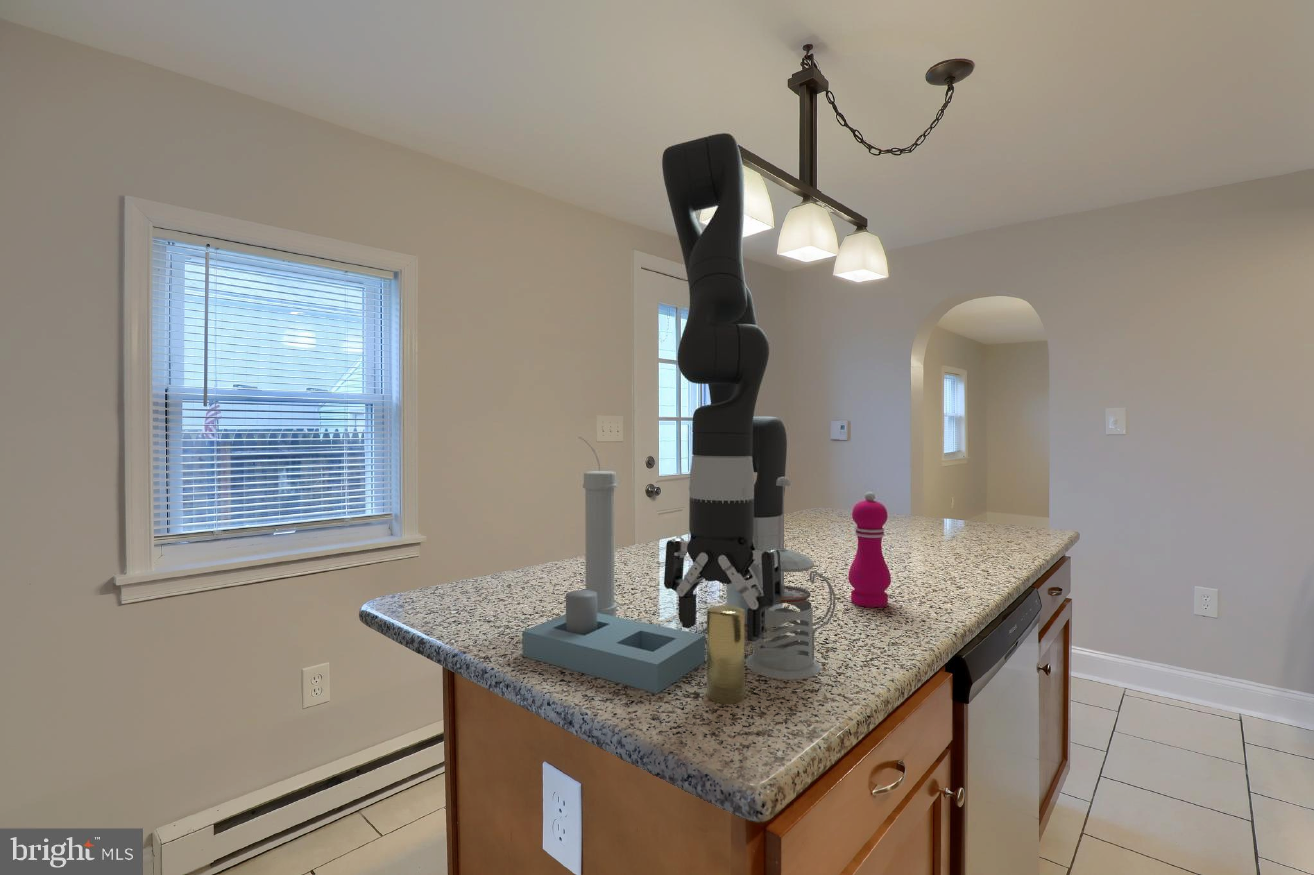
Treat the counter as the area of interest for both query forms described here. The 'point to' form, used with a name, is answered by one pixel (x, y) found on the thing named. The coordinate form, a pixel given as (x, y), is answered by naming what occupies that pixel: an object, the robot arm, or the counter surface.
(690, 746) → the counter surface
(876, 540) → the pepper mill
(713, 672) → the gold cylinder
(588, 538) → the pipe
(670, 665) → the jig
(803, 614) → the french press
